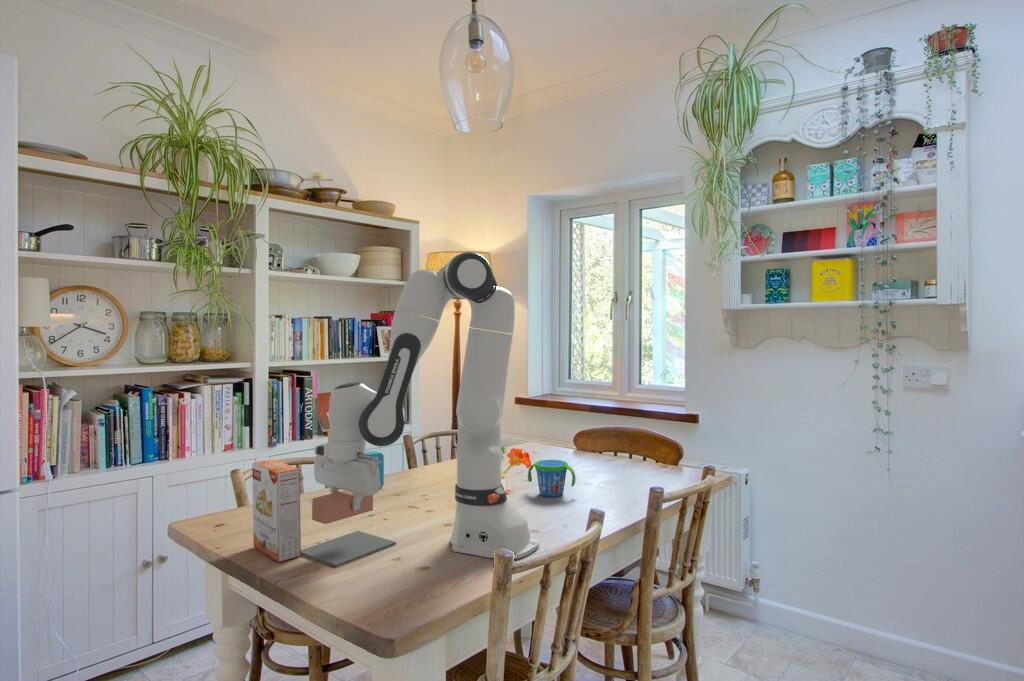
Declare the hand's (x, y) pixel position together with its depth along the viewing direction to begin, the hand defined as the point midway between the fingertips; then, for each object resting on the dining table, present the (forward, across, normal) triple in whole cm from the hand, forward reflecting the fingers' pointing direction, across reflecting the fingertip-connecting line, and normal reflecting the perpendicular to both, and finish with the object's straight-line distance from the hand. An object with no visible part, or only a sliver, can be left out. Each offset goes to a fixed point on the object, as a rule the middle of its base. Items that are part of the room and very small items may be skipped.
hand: (346, 507), depth 148 cm
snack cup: (+9, -14, -70) cm, 72 cm away
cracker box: (+11, +12, +11) cm, 19 cm away
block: (-1, 0, +8) cm, 8 cm away
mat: (+10, 0, 0) cm, 10 cm away
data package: (+10, +38, -38) cm, 55 cm away
